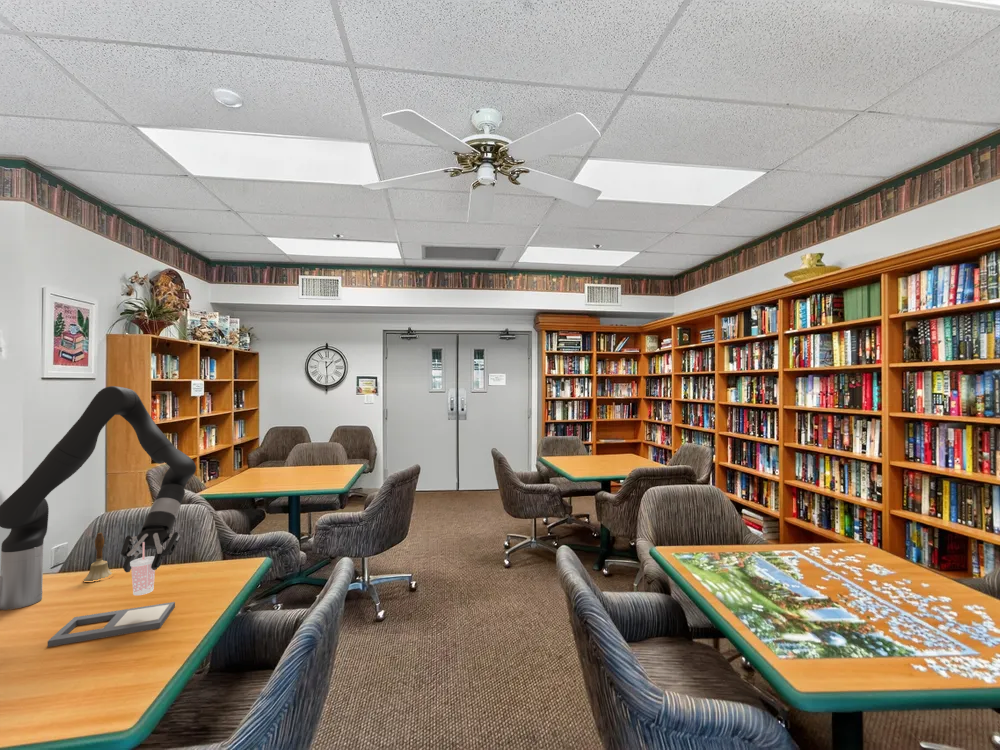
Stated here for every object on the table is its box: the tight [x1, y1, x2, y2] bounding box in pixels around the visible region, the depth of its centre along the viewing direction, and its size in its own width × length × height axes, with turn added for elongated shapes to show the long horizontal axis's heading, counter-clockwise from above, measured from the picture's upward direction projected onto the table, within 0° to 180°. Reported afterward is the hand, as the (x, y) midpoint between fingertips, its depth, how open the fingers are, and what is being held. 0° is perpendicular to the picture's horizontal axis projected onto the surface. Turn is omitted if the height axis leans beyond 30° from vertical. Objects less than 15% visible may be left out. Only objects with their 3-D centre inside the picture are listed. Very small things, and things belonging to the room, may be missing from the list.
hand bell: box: [83, 532, 113, 581], centre depth 165 cm, size 8×8×16 cm
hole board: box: [47, 601, 176, 648], centre depth 129 cm, size 24×14×2 cm, turn 111°
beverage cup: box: [130, 542, 156, 596], centre depth 132 cm, size 6×6×14 cm
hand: (140, 569), depth 130 cm, fingers closed on beverage cup, 6 cm apart
